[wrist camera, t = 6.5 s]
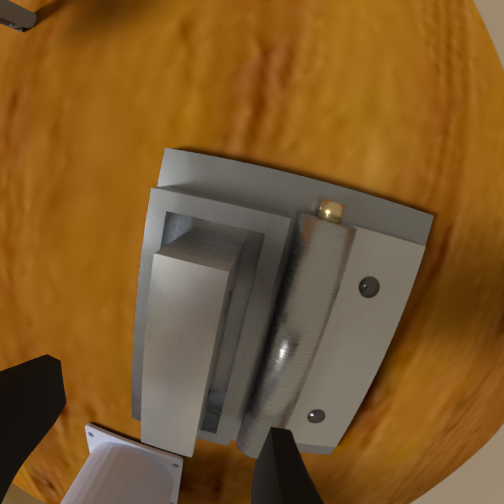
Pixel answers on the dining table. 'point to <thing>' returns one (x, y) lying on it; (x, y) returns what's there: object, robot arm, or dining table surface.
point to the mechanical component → (16, 16)
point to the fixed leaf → (287, 294)
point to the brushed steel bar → (185, 334)
